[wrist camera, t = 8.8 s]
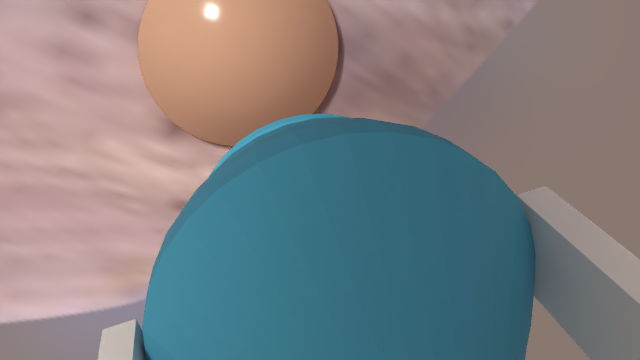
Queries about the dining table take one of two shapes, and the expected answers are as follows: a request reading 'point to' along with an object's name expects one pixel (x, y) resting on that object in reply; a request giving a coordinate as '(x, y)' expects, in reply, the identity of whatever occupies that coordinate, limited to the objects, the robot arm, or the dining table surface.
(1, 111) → the dining table surface
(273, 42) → the saucer
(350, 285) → the perfume bottle
